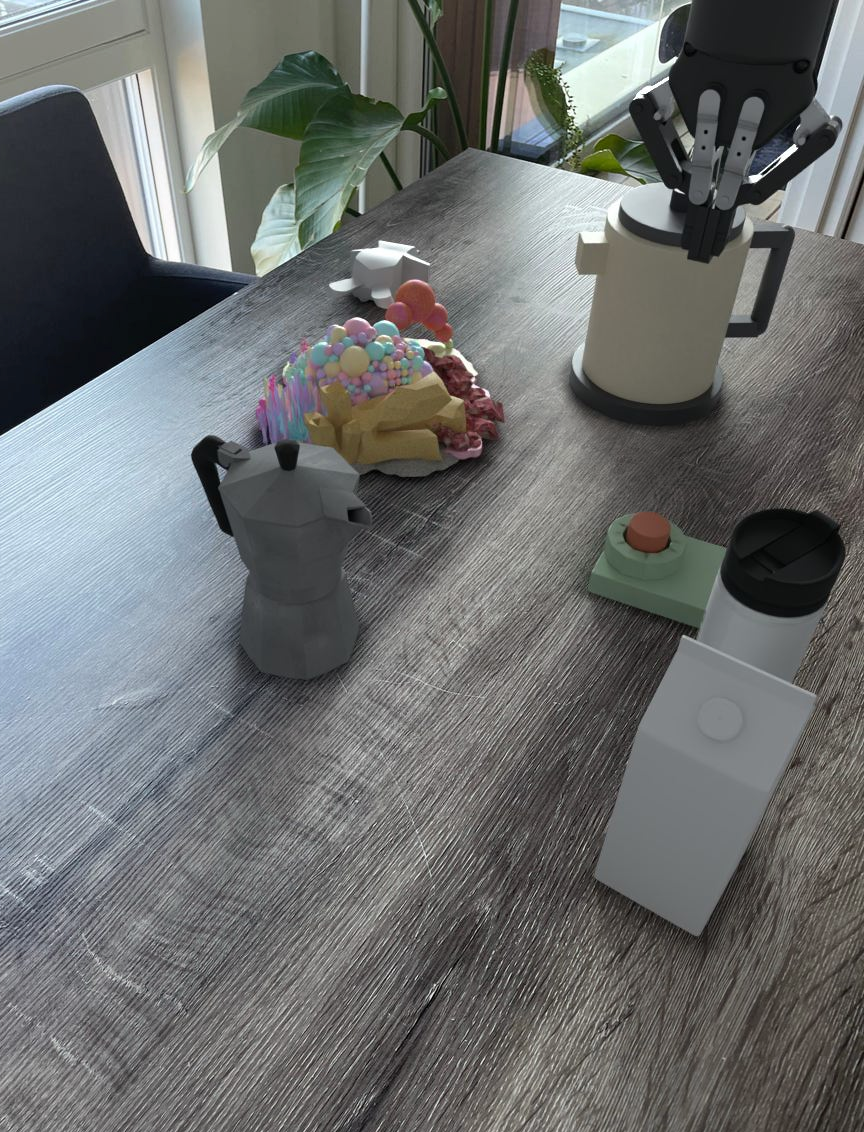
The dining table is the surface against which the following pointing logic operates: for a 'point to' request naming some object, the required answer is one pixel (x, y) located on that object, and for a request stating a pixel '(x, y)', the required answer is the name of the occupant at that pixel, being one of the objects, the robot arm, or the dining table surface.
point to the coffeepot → (289, 548)
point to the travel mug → (773, 588)
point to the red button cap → (648, 532)
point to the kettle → (665, 309)
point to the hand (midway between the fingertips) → (700, 256)
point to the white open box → (381, 273)
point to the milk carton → (699, 781)
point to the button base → (658, 574)
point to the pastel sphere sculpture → (384, 393)
